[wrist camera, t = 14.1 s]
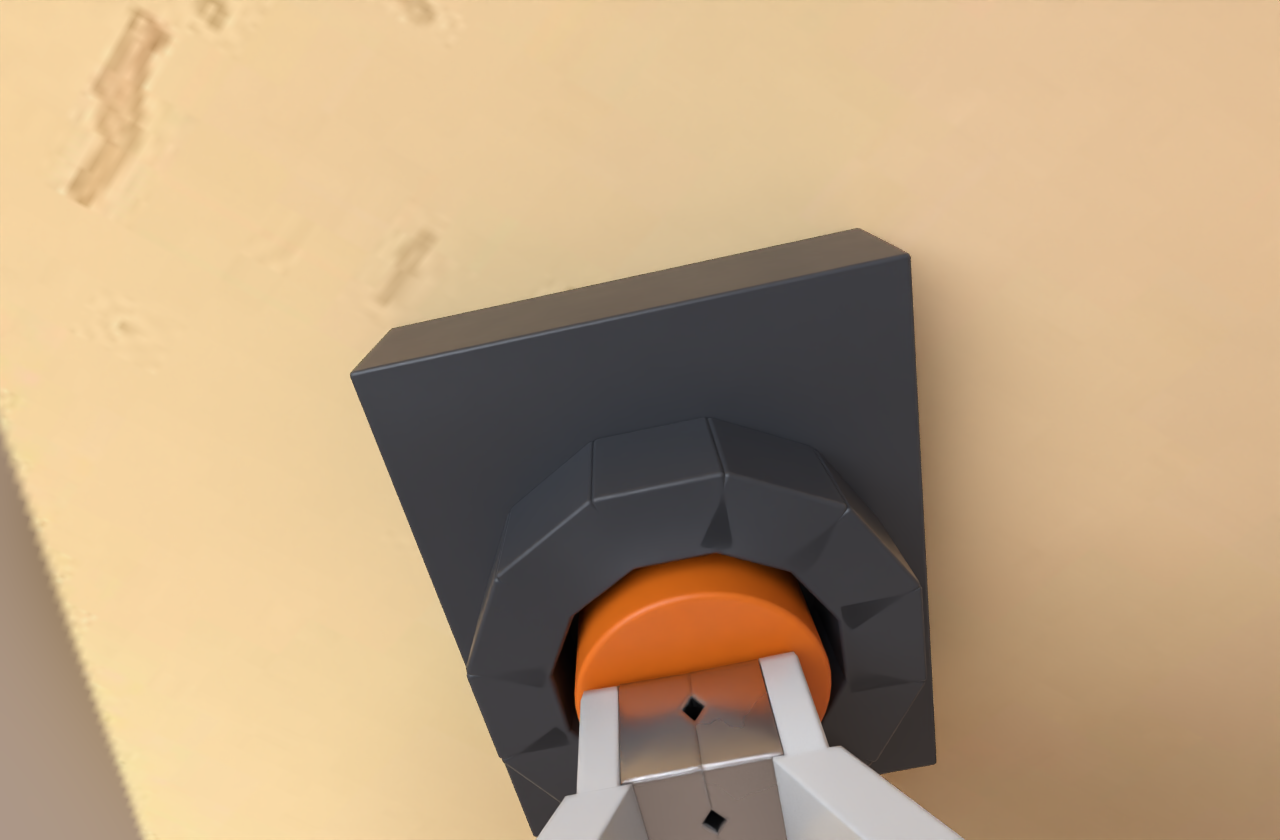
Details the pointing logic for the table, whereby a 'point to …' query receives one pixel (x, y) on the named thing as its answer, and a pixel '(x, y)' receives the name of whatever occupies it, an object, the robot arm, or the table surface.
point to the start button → (697, 624)
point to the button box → (670, 476)
